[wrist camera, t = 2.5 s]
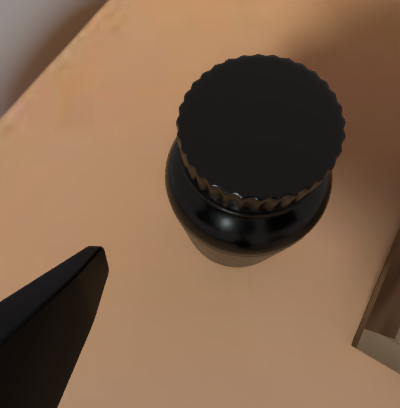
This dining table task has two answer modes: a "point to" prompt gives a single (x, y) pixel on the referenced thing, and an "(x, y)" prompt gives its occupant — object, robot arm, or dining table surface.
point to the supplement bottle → (253, 158)
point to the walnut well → (383, 315)
